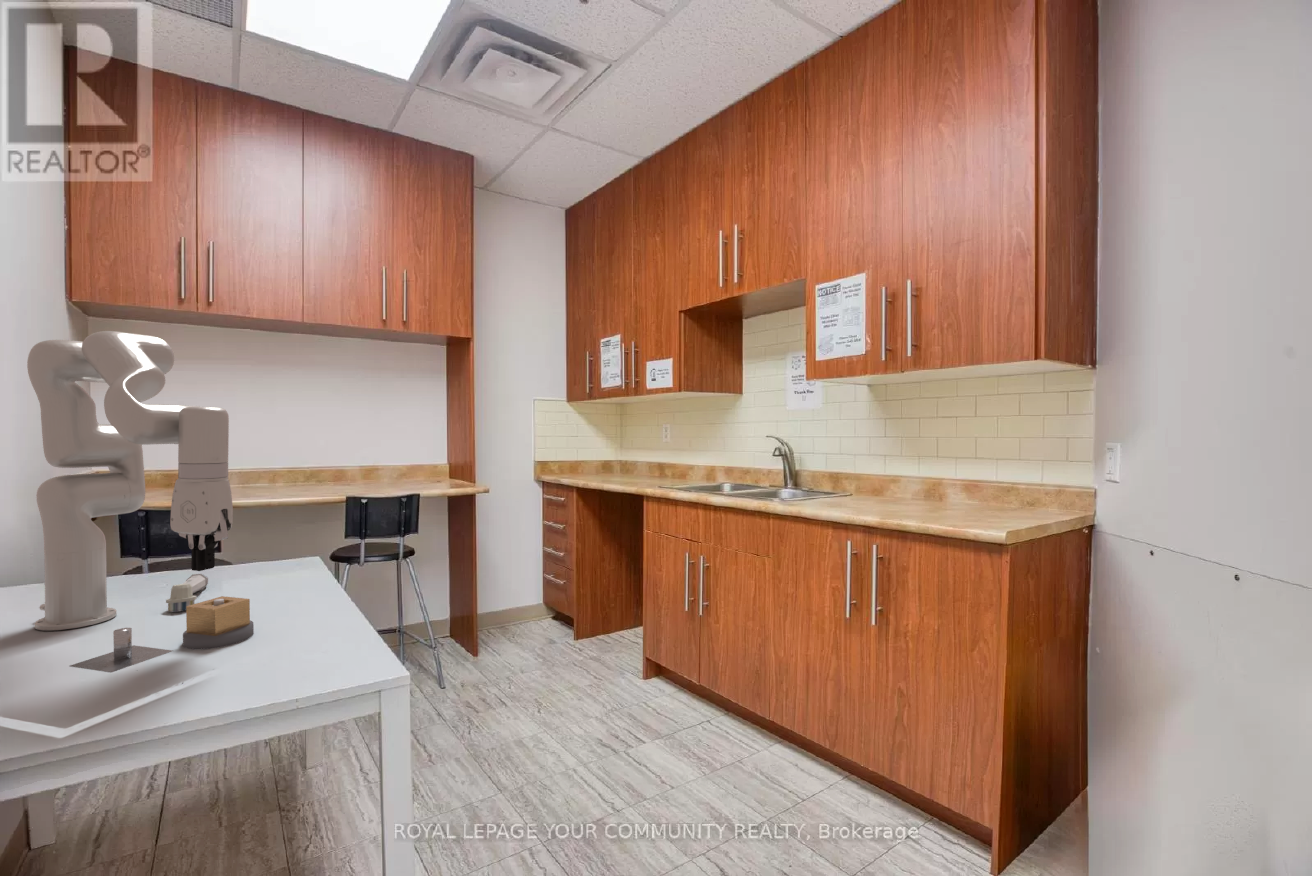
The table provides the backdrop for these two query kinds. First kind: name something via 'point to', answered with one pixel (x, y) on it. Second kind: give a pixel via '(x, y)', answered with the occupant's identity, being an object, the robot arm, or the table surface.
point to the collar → (217, 616)
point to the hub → (220, 640)
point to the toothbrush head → (186, 592)
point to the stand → (121, 654)
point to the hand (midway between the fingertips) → (203, 569)
